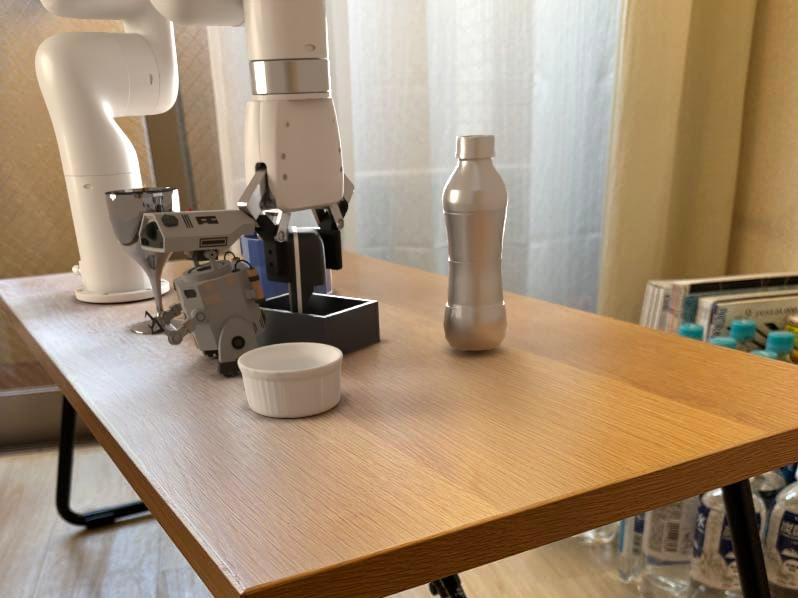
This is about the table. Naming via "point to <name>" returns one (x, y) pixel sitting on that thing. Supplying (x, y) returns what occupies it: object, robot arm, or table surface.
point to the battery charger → (305, 266)
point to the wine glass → (126, 226)
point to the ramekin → (292, 379)
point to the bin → (322, 322)
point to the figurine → (209, 283)
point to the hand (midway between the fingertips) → (305, 273)
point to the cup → (255, 256)
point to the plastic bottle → (475, 247)
